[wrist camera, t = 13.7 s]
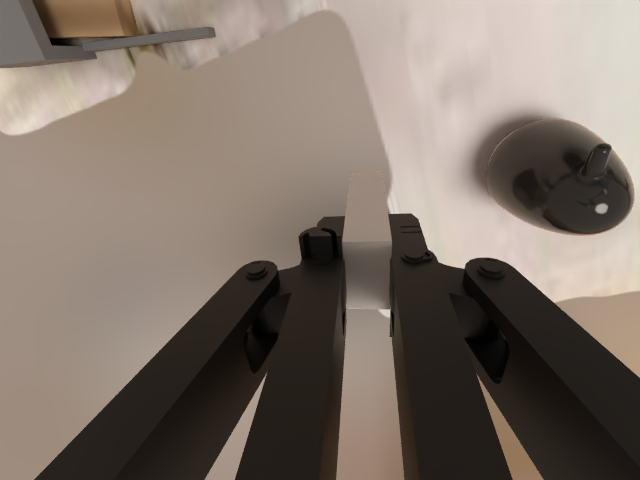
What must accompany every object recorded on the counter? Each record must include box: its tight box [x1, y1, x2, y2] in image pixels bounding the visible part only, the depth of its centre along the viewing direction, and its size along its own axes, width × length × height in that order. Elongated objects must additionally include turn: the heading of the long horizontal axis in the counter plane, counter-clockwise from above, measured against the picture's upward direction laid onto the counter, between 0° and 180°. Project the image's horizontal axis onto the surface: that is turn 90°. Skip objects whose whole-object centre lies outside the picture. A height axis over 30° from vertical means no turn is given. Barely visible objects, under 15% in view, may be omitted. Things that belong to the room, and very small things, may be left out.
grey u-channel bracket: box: [0, 0, 216, 68], centre depth 32 cm, size 8×25×7 cm, turn 95°
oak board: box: [32, 0, 139, 39], centre depth 34 cm, size 4×14×3 cm, turn 91°
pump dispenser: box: [486, 118, 635, 236], centre depth 30 cm, size 10×10×15 cm
